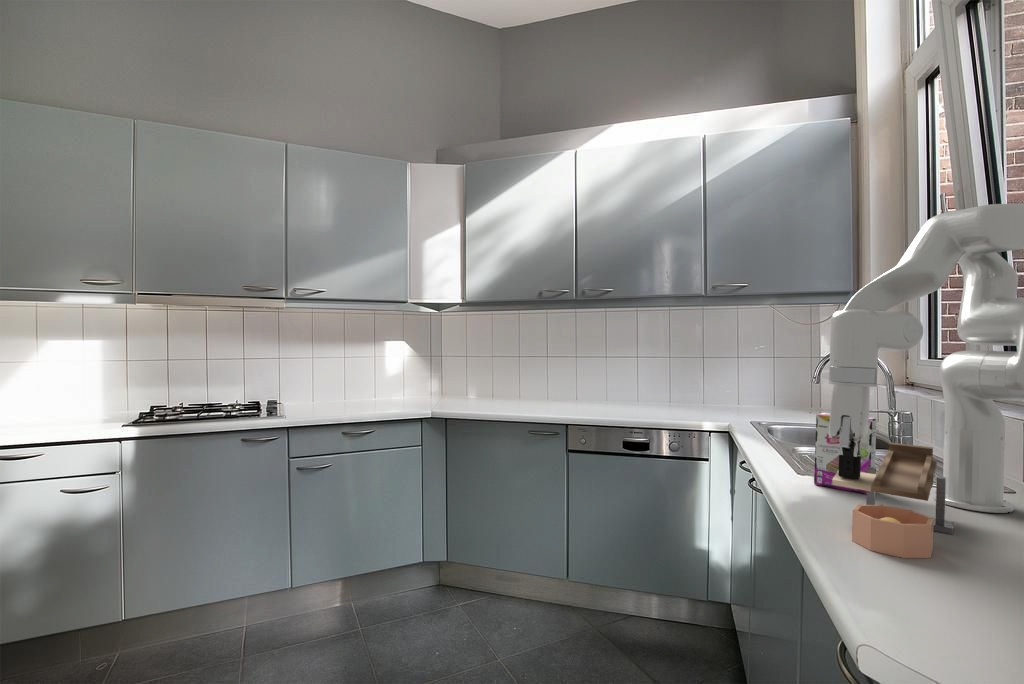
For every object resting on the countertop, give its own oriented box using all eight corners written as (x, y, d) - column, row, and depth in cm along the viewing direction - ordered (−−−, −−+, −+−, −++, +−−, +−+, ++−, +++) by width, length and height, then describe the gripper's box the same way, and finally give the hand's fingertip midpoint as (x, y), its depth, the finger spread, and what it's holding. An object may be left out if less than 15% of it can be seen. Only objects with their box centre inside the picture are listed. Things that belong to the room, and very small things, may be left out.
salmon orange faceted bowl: (860, 529, 95) (860, 501, 95) (934, 545, 88) (935, 514, 88) (848, 545, 87) (849, 514, 87) (928, 563, 81) (929, 530, 81)
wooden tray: (851, 470, 114) (851, 437, 113) (936, 482, 105) (936, 447, 104) (832, 502, 101) (831, 466, 100) (927, 520, 91) (928, 480, 90)
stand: (861, 510, 107) (862, 464, 107) (953, 527, 97) (955, 477, 97) (857, 515, 103) (858, 468, 103) (952, 534, 94) (953, 482, 94)
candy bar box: (813, 485, 125) (814, 413, 125) (819, 481, 129) (820, 412, 129) (870, 495, 117) (872, 419, 117) (875, 491, 121) (877, 417, 121)
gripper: (837, 375, 108) (834, 467, 108) (820, 376, 97) (816, 480, 97) (883, 377, 103) (879, 474, 103) (870, 379, 92) (866, 488, 92)
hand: (849, 477), depth 100 cm, fingers closed
